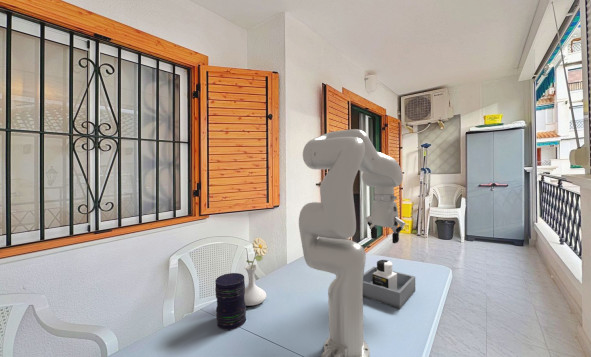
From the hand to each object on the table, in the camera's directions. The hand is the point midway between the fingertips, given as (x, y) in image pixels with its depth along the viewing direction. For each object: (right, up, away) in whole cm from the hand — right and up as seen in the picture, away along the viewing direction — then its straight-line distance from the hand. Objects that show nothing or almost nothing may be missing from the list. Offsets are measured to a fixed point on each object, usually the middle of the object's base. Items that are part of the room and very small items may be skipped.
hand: (384, 240), depth 105 cm
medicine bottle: (+1, -21, +1) cm, 21 cm away
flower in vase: (-53, -24, -2) cm, 58 cm away
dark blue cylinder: (-58, -24, -16) cm, 65 cm away
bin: (+1, -22, +1) cm, 22 cm away
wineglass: (-8, -21, +36) cm, 43 cm away
